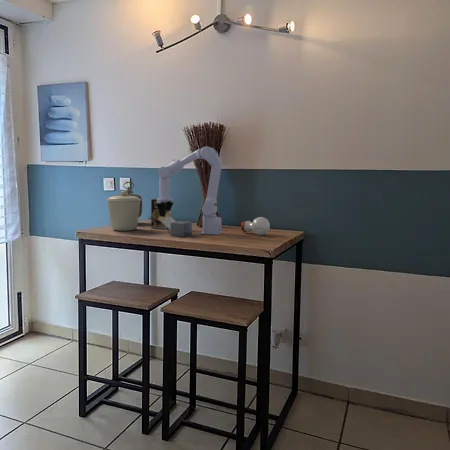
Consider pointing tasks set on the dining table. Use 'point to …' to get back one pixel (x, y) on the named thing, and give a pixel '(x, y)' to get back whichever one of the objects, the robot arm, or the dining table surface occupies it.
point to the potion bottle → (256, 226)
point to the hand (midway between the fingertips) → (164, 216)
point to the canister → (124, 212)
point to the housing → (181, 228)
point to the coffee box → (155, 216)
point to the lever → (167, 219)
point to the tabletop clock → (133, 195)
